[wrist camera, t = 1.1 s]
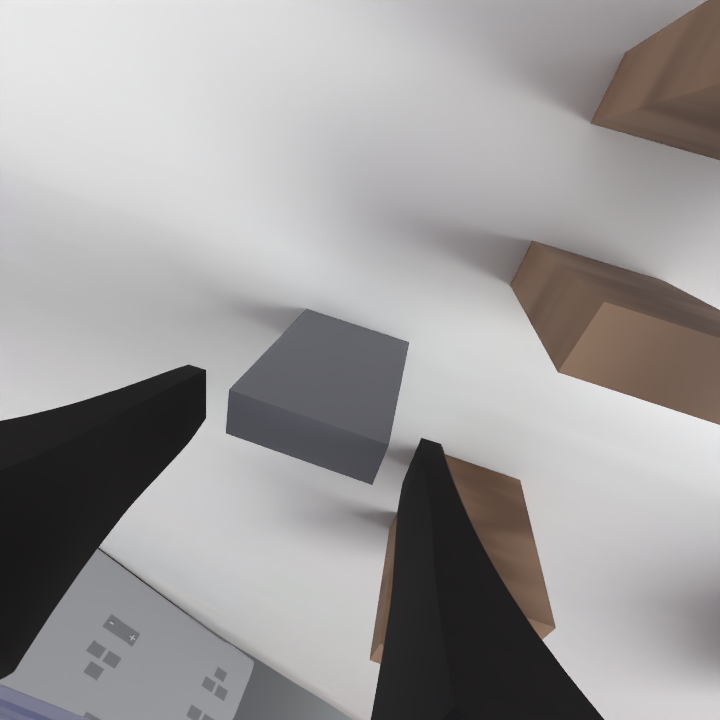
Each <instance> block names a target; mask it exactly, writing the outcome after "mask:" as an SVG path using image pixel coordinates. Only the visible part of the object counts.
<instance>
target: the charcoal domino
mask: <svg viewBox="0 0 720 720" xmlns="http://www.w3.org/2000/svg"><path fill="white" fill-rule="evenodd" d="M408 346H409V342H406V341H403V340H400V339H397V338H394V337H391V336H388V335H385V334H382V333H379V332H376V331H372V330H369V329H366V328H363V327H360V326H357V325H354V324H351V323H348V322H345V321H342V320H339V319H336V318H333V317H330V316H327V315H324V314H321V313H318V312H315V311H312V310H309V309H307V310H306V311H305V312H304V313H303V314H302V315H301V316H300V317H299V318H298V319H297V320H296V321H295V322H294V323H293V324H292V325H291V326H290V327H289V328H288V329H287V330H286V331H285V332H284V333H283V334H282V336H281V337H280V338H279V339H278V340H277V341H276V342H275V343H274V344H273V345H272V346H271V347H270V348H269V349H268V350H267V351H266V352H265V353H264V354H263V355H262V356H261V357H260V358H259V359H258V360H257V361H256V362H255V363H254V365H253V366H252V367H251V368H250V369H249V370H248V371H247V372H246V373H245V374H244V375H243V376H242V377H241V378H240V379H239V380H238V381H237V382H236V383H235V384H234V385H233V386H232V387H231V388H230V389H229V399H228V412H227V425H226V433H227V434H230V435H232V436H235V437H238V438H241V439H244V440H247V441H249V442H252V443H255V444H258V445H261V446H264V447H266V448H269V449H272V450H275V451H278V452H281V453H283V454H286V455H289V456H292V457H295V458H298V459H300V460H303V461H306V462H309V463H312V464H315V465H317V466H320V467H323V468H326V469H329V470H332V471H334V472H337V473H340V474H343V475H346V476H349V477H351V478H354V479H357V480H360V481H363V482H366V483H368V484H371V485H372V484H373V482H374V479H375V477H376V474H377V472H378V469H379V467H380V464H381V462H382V460H383V457H384V455H385V452H386V450H387V447H388V445H389V440H390V435H391V430H392V425H393V420H394V415H395V410H396V405H397V400H398V395H399V390H400V385H401V380H402V375H403V370H404V365H405V360H406V355H407V350H408Z"/></svg>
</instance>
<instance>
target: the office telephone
mask: <svg viewBox="0 0 720 720" xmlns="http://www.w3.org/2000/svg"><path fill="white" fill-rule="evenodd" d="M253 664H254V661H253V660H251V659H250V658H248V657H247V656H246V655H244V654H243V653H242V652H240V651H238V650H237V649H236V648H235V647H233V646H232V645H230V644H228V643H226V642H224V641H222V640H221V639H219V638H218V637H216V636H215V635H214V634H212V633H211V632H209V631H208V630H207V629H205V628H204V627H203V626H201V625H200V624H199V623H197V622H196V621H195V620H193V619H192V618H191V617H189V616H188V615H187V614H185V613H184V612H182V611H181V610H180V609H178V608H177V607H176V606H174V605H173V604H172V603H170V602H169V601H168V600H166V599H165V598H164V597H162V596H161V595H160V594H158V593H157V592H155V591H154V590H153V589H151V588H150V587H149V586H147V585H146V584H145V583H143V582H142V581H141V580H139V579H138V578H137V577H135V576H134V575H133V574H131V573H130V572H129V571H127V570H126V569H124V568H123V567H122V566H120V565H119V564H118V563H116V562H115V561H114V560H112V559H111V558H110V557H108V556H107V555H106V554H104V553H103V552H102V551H100V550H99V549H97V550H96V551H95V553H94V554H93V555H92V557H91V558H90V559H89V561H88V562H87V564H86V565H85V566H84V568H83V569H82V570H81V572H80V573H79V575H78V576H77V577H76V579H75V580H74V582H73V583H72V585H71V586H70V588H69V589H68V590H67V592H66V593H65V595H64V596H63V598H62V599H61V601H60V602H59V603H58V605H57V606H56V608H55V609H54V611H53V612H52V614H51V615H50V617H49V618H48V620H47V621H46V623H45V624H44V626H43V628H42V629H41V631H40V632H39V634H38V635H37V637H36V638H35V640H34V641H33V643H32V644H31V646H30V648H29V649H28V651H27V652H26V654H25V655H24V657H23V658H22V660H21V662H20V663H19V665H18V666H17V668H16V670H15V671H14V672H13V673H12V674H10V675H8V676H7V677H5V678H3V679H1V680H0V684H2V685H4V686H7V687H9V688H12V689H14V690H17V691H20V692H22V693H25V694H27V695H30V696H32V697H35V698H37V699H40V700H42V701H45V702H48V703H50V704H53V705H55V706H58V707H60V708H63V709H65V710H68V711H70V712H73V713H76V714H78V715H81V716H83V717H86V718H88V719H91V720H233V718H234V715H235V713H236V710H237V708H238V705H239V703H240V700H241V698H242V695H243V693H244V690H245V688H246V685H247V683H248V680H249V678H250V675H251V671H252V669H253Z"/></svg>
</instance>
